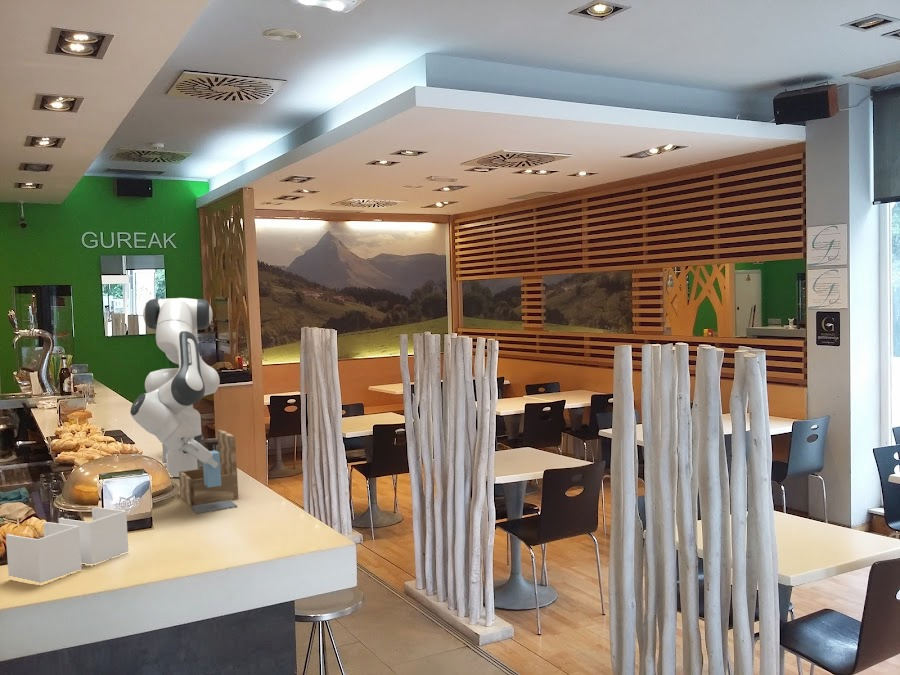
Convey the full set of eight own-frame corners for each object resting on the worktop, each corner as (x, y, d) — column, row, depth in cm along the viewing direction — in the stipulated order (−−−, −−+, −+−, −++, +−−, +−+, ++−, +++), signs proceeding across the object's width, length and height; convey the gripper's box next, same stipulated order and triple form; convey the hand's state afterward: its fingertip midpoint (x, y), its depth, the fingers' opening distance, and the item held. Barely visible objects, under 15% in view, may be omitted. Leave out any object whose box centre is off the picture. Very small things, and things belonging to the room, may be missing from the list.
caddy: (180, 496, 263) (176, 435, 262) (225, 489, 270) (221, 429, 269) (191, 506, 249) (187, 442, 248) (238, 498, 256) (234, 436, 255)
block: (204, 484, 248) (202, 452, 247) (217, 482, 250) (215, 450, 249) (208, 487, 244) (206, 454, 243) (221, 485, 246) (219, 452, 245)
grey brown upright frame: (231, 484, 277) (228, 437, 276) (224, 488, 271) (221, 441, 270) (205, 484, 278) (202, 438, 277) (197, 489, 272) (195, 441, 271)
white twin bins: (40, 587, 183) (37, 539, 183) (9, 581, 188) (5, 534, 188) (128, 553, 206) (126, 510, 205) (98, 548, 211) (95, 507, 210)
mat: (190, 507, 248) (190, 506, 248) (229, 501, 254) (229, 499, 254) (197, 513, 240) (197, 512, 240) (237, 507, 246) (237, 505, 246)
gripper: (193, 432, 233) (229, 461, 239) (178, 423, 251) (212, 450, 256) (178, 449, 231) (215, 478, 237) (164, 439, 249) (198, 466, 254)
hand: (213, 464), depth 247 cm, fingers closed on block, 5 cm apart
